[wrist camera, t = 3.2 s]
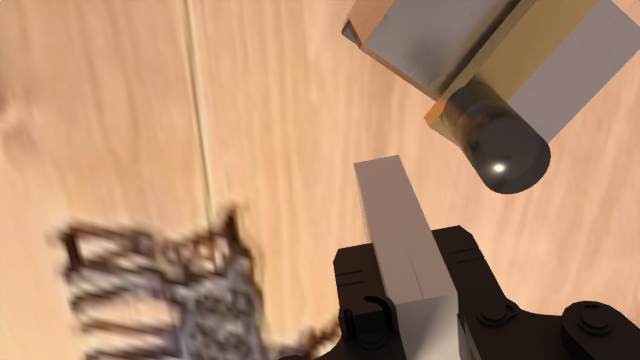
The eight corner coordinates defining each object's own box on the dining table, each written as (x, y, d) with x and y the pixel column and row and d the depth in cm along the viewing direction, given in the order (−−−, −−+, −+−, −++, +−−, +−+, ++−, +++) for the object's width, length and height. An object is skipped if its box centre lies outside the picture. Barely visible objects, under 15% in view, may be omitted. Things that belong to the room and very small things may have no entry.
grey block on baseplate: (347, 15, 26) (362, 44, 21) (442, -122, 23) (481, -119, 19) (492, 117, 29) (531, 161, 25) (589, 9, 27) (651, 37, 22)
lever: (664, -207, 18) (810, -233, 13) (724, -134, 19) (877, -134, 14) (409, 108, 23) (447, 171, 18) (470, 148, 24) (520, 218, 19)
